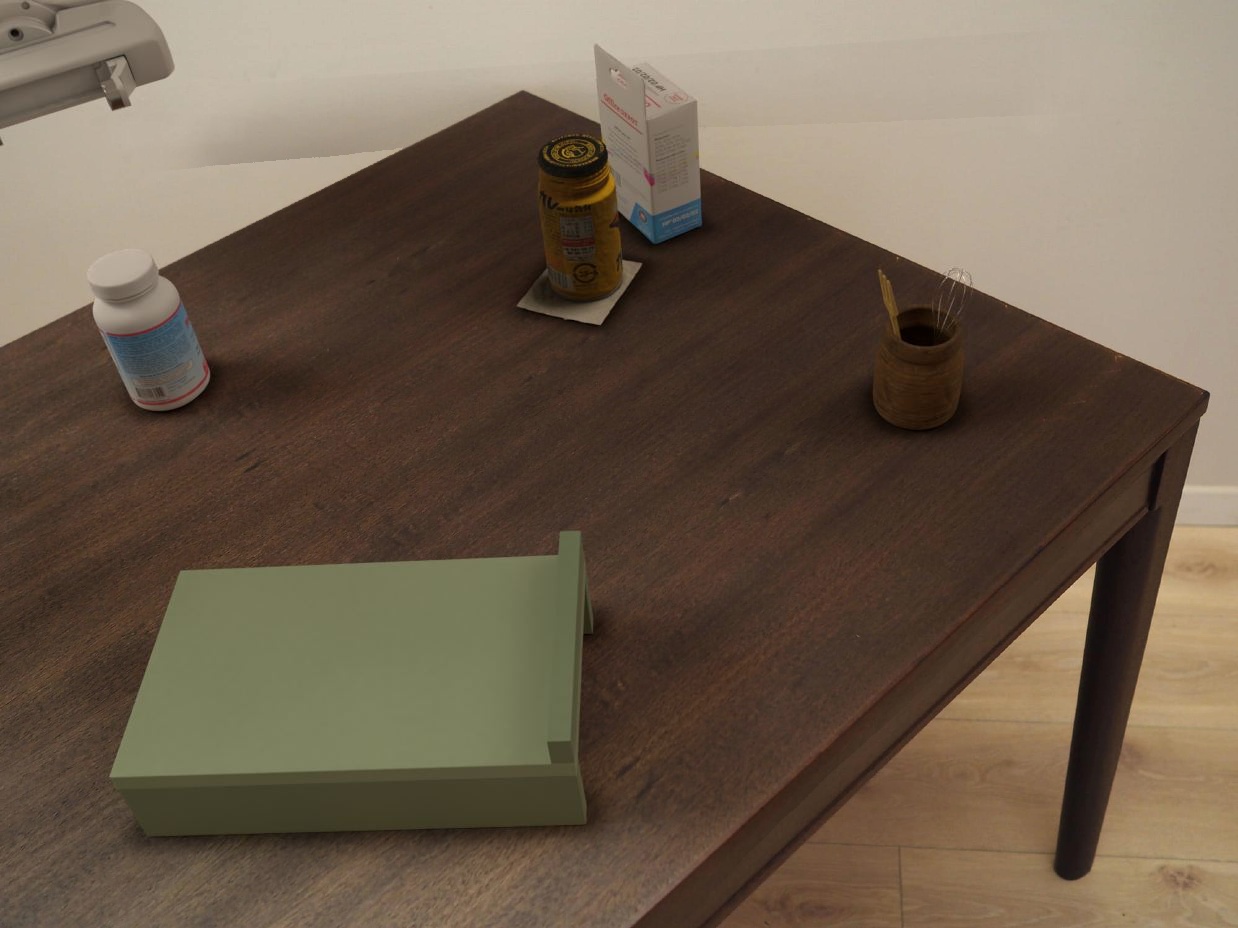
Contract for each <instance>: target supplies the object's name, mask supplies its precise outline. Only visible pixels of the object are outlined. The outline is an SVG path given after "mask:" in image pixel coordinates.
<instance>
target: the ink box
mask: <svg viewBox="0 0 1238 928" xmlns="http://www.w3.org/2000/svg"><path fill="white" fill-rule="evenodd" d="M593 53H594V65H595V74H596V80H595V81H596V91H597V101H598V102H597V103H598V112H599V114H598V115H599V123H600V133H601V141H602V142H603V143H604V144H605V145H606V149H607V151H608V161H609V165H610V172H611V174H612V175H613V177H614V179H615V185H616V191H617V193H616V196H617V204H618V213H620V214H621V215H622V216H623V217H624V218H625V219H626V220H628V221H629V222H630V223H631V224H632V225H633V226H634V227H635V228H636V229H637V230H638V231H639V232H640V233H641V234H642V235H644V236H645V238H647V239H648V240H649V241H650V242H651V243H652V244H653V245H657V244H660V243H662V242H665V241H667V240H669V239H673V238H674V237H677V236H680V235H682V234H684V233H687V232H689V231H691V230H694V229H696V228H700V227H702V225H703V221H702V220H703V219H702V197H701V196H702V195H701V173H700V171H701V170H700V145H699V144H700V143H699V141H700V140H699V118H698V117H699V116H698V100H697V99H696V98H694V97H693V96H691V95H690V94H689V93H688V92H686V91H685V90H684V89H682V88H681V87H680V86H678V85H677V84H676V83H674V82H673V81H672V80H671V79H669V78H668V77H666V76H665V75H663V74H662V73H661V72H659V71H658V70H657V69H656V68H654V67H653V66H652V65H651V64H650V63H648V62H647V61H642V62H639V63H637V64H634V65H631V66H627V65H626V64H624V63H622V62H621V61H620V60H618V59H617V58H616V57H614V56H613V55H612V54H611V53H609V52H608V51H607V50H605V49H604V48H602V47H601V46H600V45H599V44H598V43H594V45H593ZM612 71H613V72H612Z"/></svg>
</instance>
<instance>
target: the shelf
mask: <svg viewBox="0 0 1238 928" xmlns="http://www.w3.org/2000/svg"><path fill="white" fill-rule="evenodd" d="M558 539H559V540H558V554H553V555H551V554H550V555H528V556H527V555H525V556H502V557H477V558H453V559H430V560H428V559H427V560H406V561H405V560H403V561H379V562H377V561H376V562H355V563H354V562H353V563H352V562H351V563H332V564H331V563H328V564H307V565H306V564H305V565H304V564H303V565H284V566H283V565H281V566H256V567H233V568H214V569H213V568H209V569H207V568H206V569H183V570H182V569H181V570H180V571H179V573H178V576H177V579H176V581H175V585H174V587H173V590H172V593H171V596H170V600H169V602H168V605H167V608H166V611H165V614H164V616H163V619H162V623H161V625H160V628H159V631H158V634H157V637H156V640H155V642H154V645H153V649H152V651H151V654H150V657H149V660H148V663H147V666H146V669H145V672H144V675H143V678H142V681H141V684H140V686H139V689H138V692H137V695H136V698H135V701H134V703H133V707H132V710H131V713H130V716H129V718H128V721H127V724H126V726H125V729H124V733H123V736H122V739H121V741H120V744H119V748H118V750H117V753H116V756H115V759H114V762H113V765H112V768H111V771H110V774H109V779H110V781H111V783H112V784H113V785H114V787H115V788H116V790H117V792H118V793H119V795H120V796H121V798H122V799H123V801H124V802H125V804H126V806H127V807H128V808H129V810H130V812H131V813H132V815H133V816H134V817H135V819H136V820H137V823H138V824H139V825H140V827H141V828H142V830H143V831H144V833H145V834H146V836H147V837H183V836H186V837H187V836H216V835H217V836H219V835H221V836H223V835H255V834H257V835H258V834H293V833H295V834H296V833H329V832H331V833H332V832H364V831H365V832H366V831H367V832H368V831H399V830H406V831H407V830H436V829H438V830H439V829H474V828H475V829H476V828H478V829H479V828H510V827H511V828H512V827H514V828H516V827H548V826H549V827H550V826H551V827H552V826H583V825H584V826H585V825H586V824H587V810H588V809H587V808H588V807H587V799H586V795H585V794H586V793H585V789H584V783H583V778H582V777H583V776H582V772H581V765H580V761H579V756H578V755H579V740H580V739H579V738H580V737H579V736H580V716H581V714H580V713H581V691H582V689H581V688H582V668H583V664H582V663H583V647H584V646H583V645H584V635H593V633H594V613H593V607H592V599H591V592H590V586H589V579H588V572H587V565H586V558H585V550H584V543H583V537H582V531H581V530H561V531H559V538H558Z"/></svg>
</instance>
